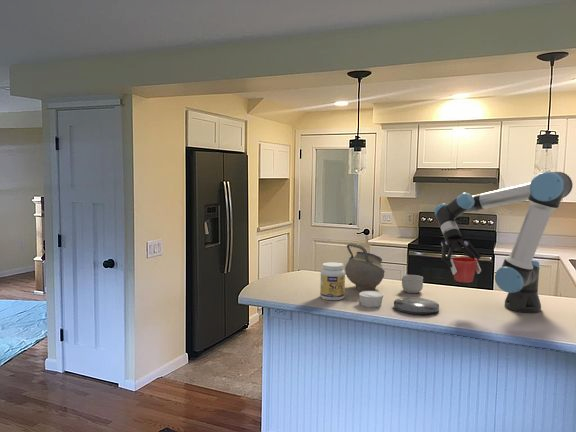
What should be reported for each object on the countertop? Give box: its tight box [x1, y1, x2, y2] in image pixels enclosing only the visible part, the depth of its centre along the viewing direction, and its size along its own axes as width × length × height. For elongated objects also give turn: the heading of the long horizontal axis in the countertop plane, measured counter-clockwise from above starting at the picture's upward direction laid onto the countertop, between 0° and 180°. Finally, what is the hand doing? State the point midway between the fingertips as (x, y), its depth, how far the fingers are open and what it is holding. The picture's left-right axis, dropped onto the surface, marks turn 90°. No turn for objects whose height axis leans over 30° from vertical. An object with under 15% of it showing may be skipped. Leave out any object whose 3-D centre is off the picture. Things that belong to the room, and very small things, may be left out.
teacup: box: [401, 274, 424, 294], centre depth 245 cm, size 14×11×8 cm
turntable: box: [393, 296, 440, 315], centre depth 214 cm, size 20×20×2 cm
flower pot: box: [451, 256, 478, 283], centre depth 210 cm, size 11×11×10 cm
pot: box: [344, 242, 386, 292], centre depth 248 cm, size 21×21×25 cm
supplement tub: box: [319, 261, 346, 301], centre depth 232 cm, size 12×12×17 cm
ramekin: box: [358, 290, 384, 308], centre depth 221 cm, size 11×11×5 cm
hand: (467, 272), depth 207 cm, fingers closed on flower pot, 11 cm apart
